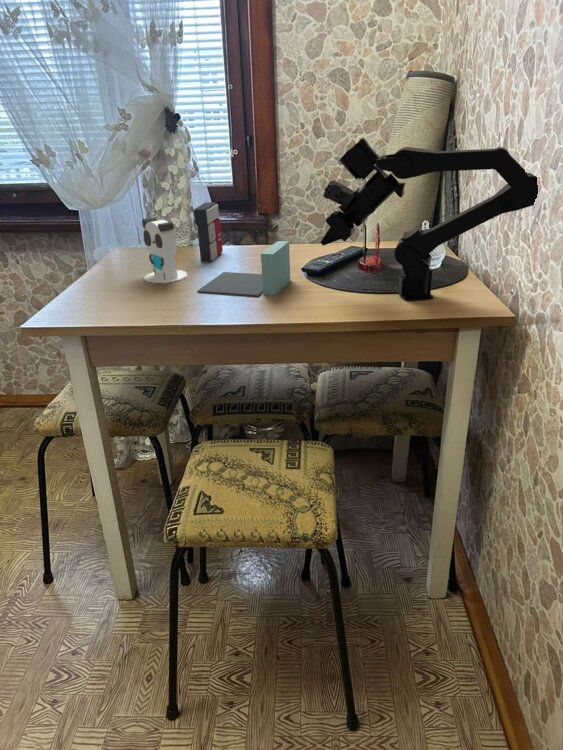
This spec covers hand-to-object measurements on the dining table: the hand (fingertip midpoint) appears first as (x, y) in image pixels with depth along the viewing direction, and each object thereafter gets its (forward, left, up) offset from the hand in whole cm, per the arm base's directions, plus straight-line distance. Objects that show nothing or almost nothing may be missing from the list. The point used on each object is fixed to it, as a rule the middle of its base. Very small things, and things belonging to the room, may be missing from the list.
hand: (322, 243), depth 132 cm
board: (+10, -5, -11) cm, 16 cm away
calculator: (+25, -38, -11) cm, 47 cm away
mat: (+19, -10, -11) cm, 24 cm away
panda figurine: (+38, -22, -11) cm, 46 cm away
